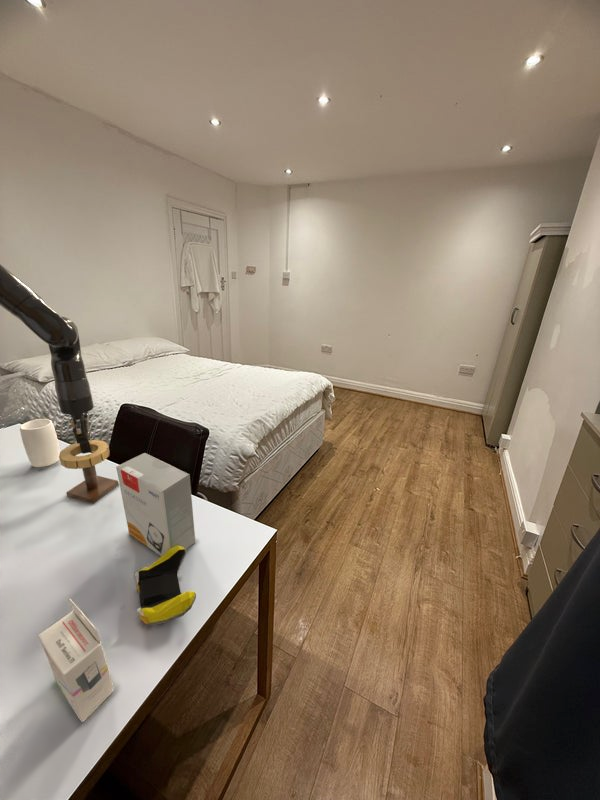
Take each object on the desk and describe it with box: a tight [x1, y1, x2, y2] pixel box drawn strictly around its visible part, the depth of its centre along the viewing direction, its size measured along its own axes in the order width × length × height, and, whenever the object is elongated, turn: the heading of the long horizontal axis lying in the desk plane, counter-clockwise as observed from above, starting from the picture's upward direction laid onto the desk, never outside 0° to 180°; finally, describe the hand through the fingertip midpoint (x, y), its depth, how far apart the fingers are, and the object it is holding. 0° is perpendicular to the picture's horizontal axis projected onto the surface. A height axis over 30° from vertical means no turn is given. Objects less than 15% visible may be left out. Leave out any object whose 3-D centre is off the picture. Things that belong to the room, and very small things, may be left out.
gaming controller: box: [134, 545, 197, 626], centre depth 64 cm, size 15×6×10 cm
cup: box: [19, 418, 61, 468], centre depth 101 cm, size 8×8×14 cm
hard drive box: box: [115, 452, 196, 557], centre depth 74 cm, size 16×8×20 cm, turn 60°
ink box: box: [37, 598, 115, 723], centre depth 47 cm, size 9×5×15 cm, turn 56°
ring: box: [59, 439, 110, 470], centre depth 88 cm, size 12×12×2 cm
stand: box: [65, 465, 120, 504], centre depth 91 cm, size 9×9×10 cm
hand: (86, 449), depth 92 cm, fingers closed on ring, 2 cm apart
